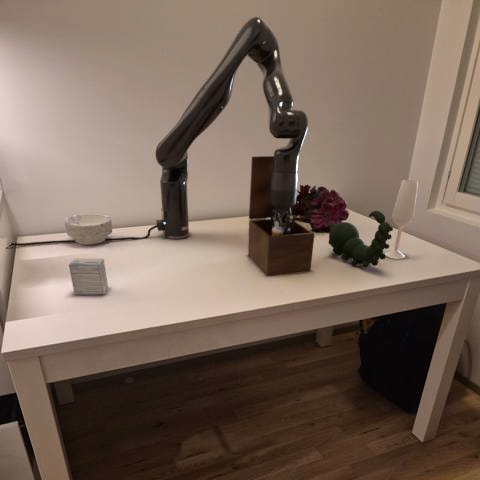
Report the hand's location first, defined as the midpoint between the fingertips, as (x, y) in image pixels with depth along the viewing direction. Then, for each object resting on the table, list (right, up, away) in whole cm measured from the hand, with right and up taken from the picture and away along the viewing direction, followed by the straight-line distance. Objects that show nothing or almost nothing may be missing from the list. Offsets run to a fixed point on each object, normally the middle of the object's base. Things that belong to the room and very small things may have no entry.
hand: (280, 243), depth 129 cm
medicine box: (-52, -16, -17) cm, 57 cm away
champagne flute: (+40, -2, +12) cm, 42 cm away
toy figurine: (+24, -5, +7) cm, 25 cm away
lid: (-2, +17, 0) cm, 17 cm away
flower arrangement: (+21, +17, +45) cm, 52 cm away
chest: (0, -6, +3) cm, 7 cm away
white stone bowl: (-65, +4, +19) cm, 68 cm away
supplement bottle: (0, -3, +2) cm, 4 cm away
